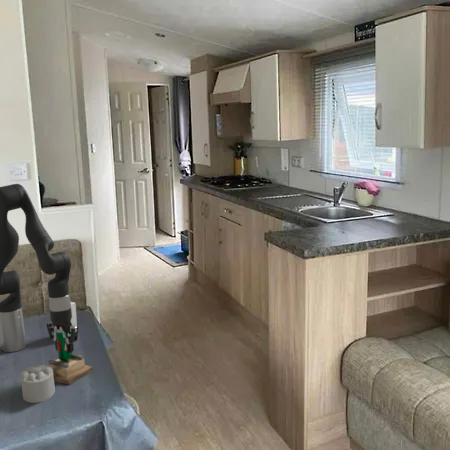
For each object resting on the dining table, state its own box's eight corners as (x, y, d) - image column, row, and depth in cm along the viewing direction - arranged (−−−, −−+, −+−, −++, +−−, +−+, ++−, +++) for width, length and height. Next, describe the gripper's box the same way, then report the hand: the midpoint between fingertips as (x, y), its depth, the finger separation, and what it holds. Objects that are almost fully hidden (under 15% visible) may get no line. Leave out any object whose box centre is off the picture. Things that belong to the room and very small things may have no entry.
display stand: (41, 377, 183) (39, 361, 181) (65, 364, 193) (63, 349, 192) (69, 384, 176) (67, 368, 175) (93, 370, 186) (91, 354, 185)
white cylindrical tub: (54, 382, 179) (51, 359, 177) (55, 399, 167) (53, 374, 165) (23, 388, 175) (20, 365, 174) (22, 406, 163) (19, 381, 162)
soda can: (68, 361, 181) (65, 330, 179) (56, 361, 182) (52, 329, 180) (75, 355, 186) (72, 325, 184) (63, 355, 187) (59, 324, 185)
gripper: (38, 308, 180) (42, 352, 183) (67, 312, 174) (71, 358, 176) (53, 301, 187) (58, 344, 190) (82, 306, 180) (86, 350, 183)
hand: (64, 351), depth 183 cm, fingers closed on soda can, 5 cm apart
